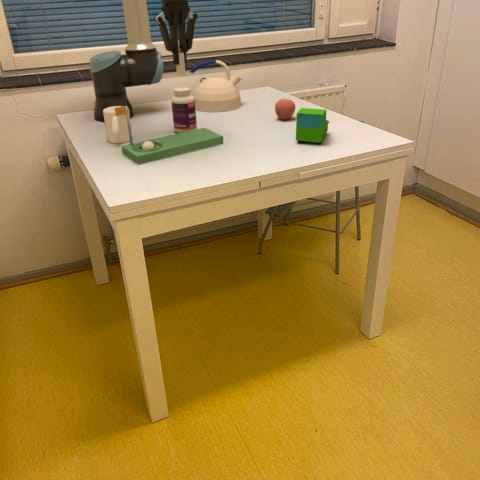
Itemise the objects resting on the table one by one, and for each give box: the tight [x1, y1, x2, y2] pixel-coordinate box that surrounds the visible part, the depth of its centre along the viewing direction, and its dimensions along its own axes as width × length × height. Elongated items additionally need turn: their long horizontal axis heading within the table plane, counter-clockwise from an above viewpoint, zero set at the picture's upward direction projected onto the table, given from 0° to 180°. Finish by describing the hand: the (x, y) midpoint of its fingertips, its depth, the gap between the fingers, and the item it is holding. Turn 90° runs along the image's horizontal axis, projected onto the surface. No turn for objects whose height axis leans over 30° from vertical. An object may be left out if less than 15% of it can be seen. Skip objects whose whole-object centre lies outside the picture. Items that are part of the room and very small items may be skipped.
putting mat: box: [121, 127, 224, 165], centre depth 152 cm, size 12×30×2 cm, turn 125°
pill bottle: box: [170, 86, 198, 133], centre depth 164 cm, size 8×8×14 cm
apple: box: [274, 97, 296, 121], centre depth 175 cm, size 7×7×8 cm
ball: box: [142, 140, 155, 150], centre depth 147 cm, size 4×4×4 cm
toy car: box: [295, 107, 330, 145], centre depth 155 cm, size 10×13×10 cm
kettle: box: [189, 59, 243, 113], centre depth 192 cm, size 20×21×18 cm
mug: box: [103, 106, 134, 144], centre depth 157 cm, size 8×10×12 cm
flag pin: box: [114, 106, 134, 145], centre depth 145 cm, size 1×4×12 cm, turn 125°
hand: (181, 75), depth 144 cm, fingers closed
